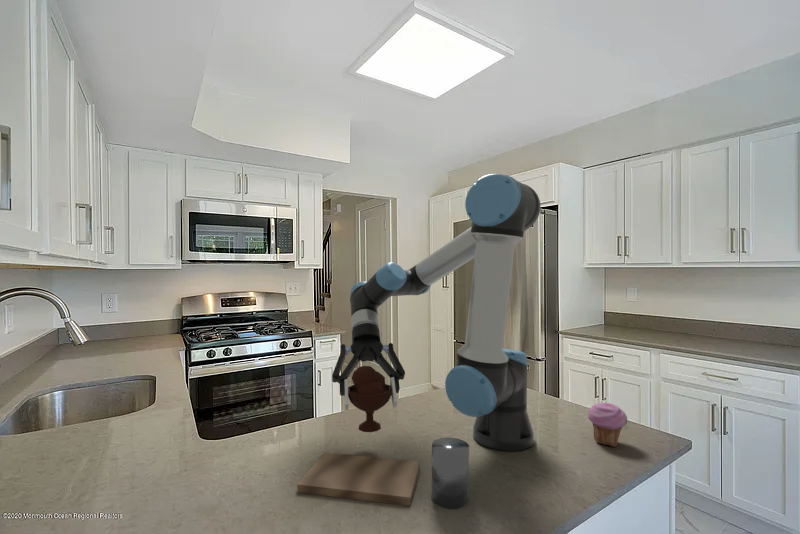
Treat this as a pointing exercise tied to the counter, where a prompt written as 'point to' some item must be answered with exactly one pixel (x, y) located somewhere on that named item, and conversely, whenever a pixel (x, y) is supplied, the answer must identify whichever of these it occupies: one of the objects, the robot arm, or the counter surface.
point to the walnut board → (362, 478)
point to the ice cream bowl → (369, 395)
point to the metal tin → (450, 473)
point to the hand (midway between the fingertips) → (371, 406)
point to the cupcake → (607, 422)
